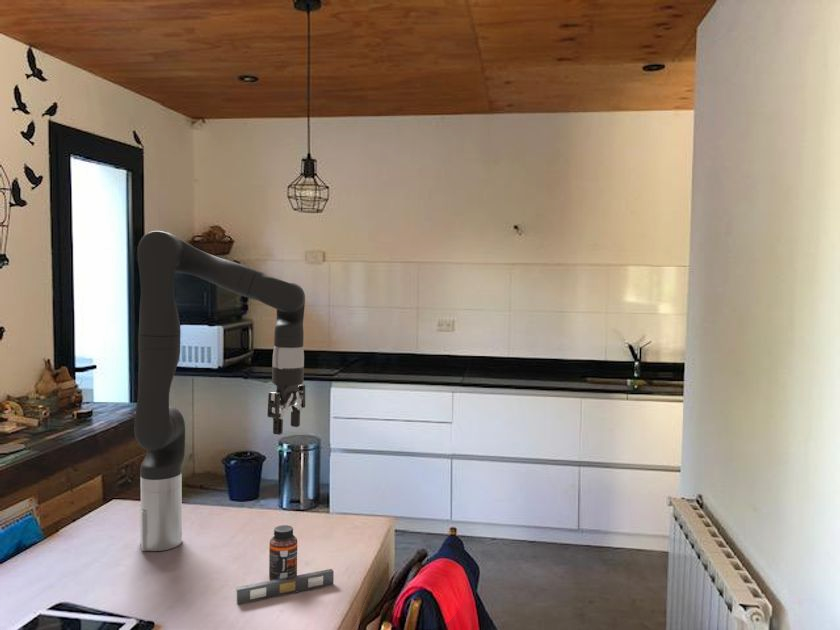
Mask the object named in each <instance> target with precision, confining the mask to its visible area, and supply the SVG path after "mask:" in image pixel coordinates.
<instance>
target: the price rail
mask: <svg viewBox="0 0 840 630" xmlns="http://www.w3.org/2000/svg"><path fill="white" fill-rule="evenodd" d="M334 578H335V576H334V569H333V568H329V569H328V568H327V569H323V570H319V571H313V572H308V573H304V574H297V576H292V577H287V578H282V579H277V580H271V581H270V580H268V581H262V582H257V583H252V584H246V585H241V586H237V587H236V604H237V605H241V604H247V603H251V602H252V603H253V602H257V601H262V600H268V599H273V598H276V597H281V596H286V595H290V594H291V595H292V594H295V593H299V592H306V591H311V590H314V589H319V588H320V589H321V588H323V587H329V586H334Z"/></svg>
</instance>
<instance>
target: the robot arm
mask: <svg viewBox="0 0 840 630" xmlns="http://www.w3.org/2000/svg"><path fill="white" fill-rule="evenodd" d="M137 262H138V264H137V265H138V271H139V281H140V282H139V284H140V300H139V314H138V315H139V316H138V317H139V319H138V321H139V322H138V323H139V324H138V343H137V344H138V347H137V349H138V375H137V376H138V382H137V383H138V386H137V387H138V390H137V400H136V401H137V402H136V408H135V409H136V410H135V416H134V425H133V430H134V431H133V432H134V437H135V439H136V442H137V444H138V445H139V446H140V447H141V448H142V449H144V450H146V455H145V457H144V459H143V460H142V462H141V464H140V469H139V471H140V473H139V474H140V475H139V476H140V504H139V521H140V522H139V523H140V525H139V526H140V527H139V528H140V530H139V531H140V532H139V534H140V535H139V536H140V546H141V552H146V551H147V552H163V551H168V550H171V549H175V548H176V547H178V546H180V545H181V544H182V542H183V518H182V517H183V511H182V510H183V509H182V508H183V507H182V506H183V504H182V503H183V502H182V499H183V497H182V495H183V494H182V493H183V491H182V482H183V480H182V478H183V477H182V476H183V475H182V466H183V463H184V459H185V452H186V451H185V450H186V449H185V448H186V422H185V420H184V416H183V414H182V413H181V411H180V410H178V409H177V408H176V407H173V406H171V405H170V391H171V386H172V382H173V379H174V376H175V373H176V370H177V367H178V363H179V360H180V356H181V355H180V354H181V334H182V333H181V322H180V317H179V316H180V315H179V312H178V308H177V303H176V299H175V274H176V272H177V273H182V274H187V275H191V276H194V277H197V278H200V279H202V280H205V281H208V283H211V284H213V285H216V286H217V287H219V288H222V289H223V290H226V291H229V292H232V293H234V294H236V295H239V296H242V297H245V298H247V299H250V300H254V301H258V302H260V303H262V304H264V305H266V306H268V307H271V308H273V309H276V323H275V326H274V335H273V338H274V339H273V353H272V366H271V367H272V374H271V377H272V378H271V382H272V385H274V386H276V390H275V392H274V391H269V392H268V399H267V400H268V401H267V417H268V418H271V419H272V433H273V434H274V435H280V436H281V435H282V434H283V432H284V431H283V430H284V429H283V427H284V424H283V423H284V419H283V418H284V415H285V412H287V411H288V409H289V408H290V410H291V411H290V426H291V427H293V428H299V427H300V424H301V412H302V411H303V409H305V408H306V385H305V384H304V375H305V374H304V373H305V372H304V371H305V352H304V318H305V317H304V316H305V308H306V294H305V290H304V289H303V288H302V287H301V286H300V285H298V284H297V283H294V282H287V281H284V280H282V279H278V278H275V277H273V276H269V274H266V273H264V272H262V271H260V270H258V269H255V268H252V267H250V266H247V265H244V264H240V263H238V262H235V261H232V260H228V259H224V258H221V257H218V256H215V255H212V254H210V253H208V252H205V251H203V250H200V249H198V248H196V247H194V246H192V245H191V244H190V243H188V242H186V241H184V240H182V239H180V238H179V237H178V236H176V235H175V234H173V233H171V232H166V231H163V230H152V231H149V232H147V233H145V234H144V235H143V236H142V237H141V239H140V241H139V243H138V246H137Z"/></svg>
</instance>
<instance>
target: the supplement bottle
mask: <svg viewBox="0 0 840 630" xmlns="http://www.w3.org/2000/svg"><path fill="white" fill-rule="evenodd" d="M273 535H274V536H272V537H271V538H270V539H269V551H268V552H269V553H268V554H269V555H268V557H269V561H268V562H269V566H268V572H269V573H268V574H269V575H268V579H269V581H271V580H277V579H282V578H287V577H292V576H297V575H298V538H297V537H296V536H295V535H294V528H293V526H292V525H288V524H287V525H286V524H284V525H283V524H282V525H277V526H276V527H274V529H273Z"/></svg>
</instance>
